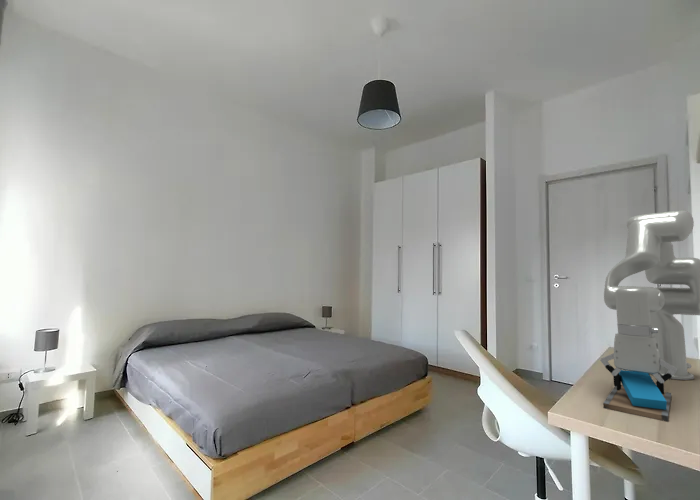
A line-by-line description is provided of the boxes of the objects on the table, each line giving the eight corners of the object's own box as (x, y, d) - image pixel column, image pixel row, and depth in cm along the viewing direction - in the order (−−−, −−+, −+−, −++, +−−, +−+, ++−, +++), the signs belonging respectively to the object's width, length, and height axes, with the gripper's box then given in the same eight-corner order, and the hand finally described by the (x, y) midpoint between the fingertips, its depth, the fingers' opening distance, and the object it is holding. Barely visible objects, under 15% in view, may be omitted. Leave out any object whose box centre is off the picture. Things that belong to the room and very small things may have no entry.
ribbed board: (616, 387, 111) (616, 383, 111) (671, 397, 102) (671, 392, 102) (603, 407, 94) (603, 402, 94) (668, 421, 85) (668, 416, 85)
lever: (665, 425, 89) (643, 387, 105) (666, 401, 88) (643, 366, 104) (632, 421, 92) (615, 384, 108) (632, 397, 91) (615, 363, 107)
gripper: (675, 332, 96) (681, 396, 95) (599, 326, 108) (603, 383, 107) (675, 335, 91) (680, 404, 89) (595, 329, 103) (599, 389, 102)
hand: (638, 392), depth 98 cm, fingers closed on lever, 8 cm apart
